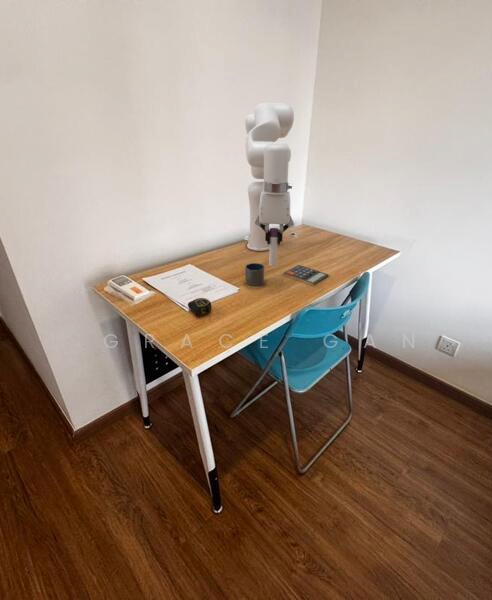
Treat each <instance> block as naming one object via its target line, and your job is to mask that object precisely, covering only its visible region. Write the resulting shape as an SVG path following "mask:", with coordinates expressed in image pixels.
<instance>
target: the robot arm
mask: <svg viewBox="0 0 492 600" xmlns="http://www.w3.org/2000/svg"><path fill="white" fill-rule="evenodd" d="M294 121H295V114H294V109H293V106H292V105H291V104H289V103H287V102H271V101H268V102H267V101H265V102H261V103H259V104H258V105H257V106H256V107H255V109H254V112H253V113H251V114H247V116H246V117H245V119H244V122H245V123H244V127H245V131H246V134H247V135H246V139H245V156H246V160H247V163H248V164H249V166H250V171H251V177H252V178H254V179H256V180H263V181H253V182H250V183H249V185H248V186H247V196H248V201H249V202H248V205H249V235H245V236H244V241H246V242H247V243H246V247H247V249H249V250H251V251H254V252H264V251H269V243H270V225H279V233H278V246H279V245H281V242H283V234H284V232H285V231H287V230H288V229H289V228H291V227H294V226H295V222H294V219H293V218H292V216H291V194H290V191H288V190H290V189H293V184H292V183H289V182H288V181H289V163H290V161H291V158H292V157H291V156H292V155H291V154H292V152H291V151H292V150H291V148H290V147H289V144H288V143H287V142H284V141H278V139H284V138H286V137H287V136H288V134H289V133H290V131H291V130H292V128H293V125H294Z"/></svg>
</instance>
